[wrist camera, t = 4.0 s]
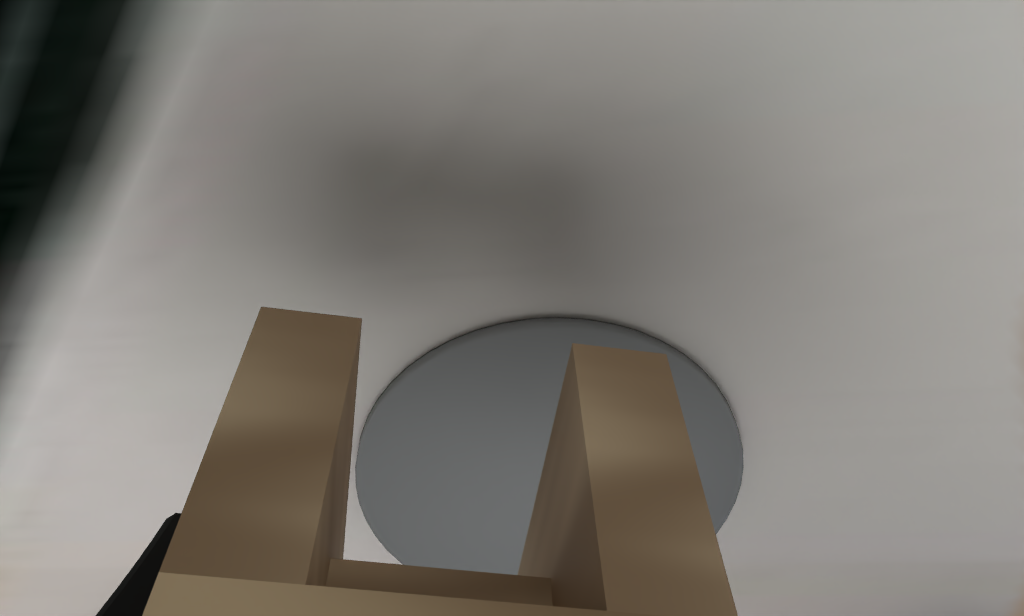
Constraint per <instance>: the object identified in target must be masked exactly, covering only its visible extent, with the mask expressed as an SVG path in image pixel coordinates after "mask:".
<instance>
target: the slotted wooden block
mask: <svg viewBox="0 0 1024 616" xmlns="http://www.w3.org/2000/svg"><path fill="white" fill-rule="evenodd" d="M361 323H362V319H361V318H353V317H344V316H336V315H327V314H319V313H310V312H301V311H293V310H284V309H276V308H267V307H261V309H260V311H259V314H258V316H257V319H256V322H255V324H254V327H253V329H252V332H251V335H250V337H249V340H248V342H247V345H246V348H245V350H244V353H243V355H242V358H241V361H240V363H239V366H238V368H237V371H236V374H235V376H234V379H233V381H232V384H231V386H230V389H229V392H228V394H227V397H226V399H225V402H224V405H223V407H222V410H221V412H220V415H219V418H218V420H217V423H216V425H215V428H214V431H213V433H212V436H211V438H210V441H209V444H208V446H207V449H206V451H205V454H204V457H203V459H202V462H201V464H200V467H199V470H198V472H197V475H196V477H195V480H194V482H193V485H192V488H191V490H190V493H189V495H188V498H187V501H186V503H185V506H184V508H183V511H182V514H181V516H180V519H179V521H178V524H177V527H176V529H175V532H174V534H173V537H172V540H171V542H170V545H169V547H168V550H167V553H166V555H165V558H164V560H163V563H162V565H161V568H160V571H159V573H158V576H157V578H156V581H155V584H154V586H153V589H152V591H151V594H150V597H149V599H148V602H147V604H146V607H145V610H144V612H143V615H142V616H738V615H737V611H736V608H735V604H734V600H733V597H732V593H731V589H730V586H729V582H728V578H727V575H726V571H725V567H724V564H723V560H722V556H721V553H720V549H719V545H718V542H717V538H716V534H715V531H714V527H713V523H712V520H711V516H710V512H709V509H708V505H707V501H706V498H705V494H704V490H703V487H702V483H701V479H700V476H699V472H698V468H697V465H696V461H695V457H694V454H693V450H692V446H691V443H690V439H689V435H688V432H687V428H686V424H685V421H684V417H683V413H682V410H681V406H680V402H679V399H678V395H677V391H676V388H675V384H674V380H673V377H672V373H671V369H670V366H669V362H668V358H667V355H666V354H662V353H653V352H644V351H636V350H627V349H619V348H610V347H602V346H593V345H584V344H576V343H572V347H571V351H570V355H569V360H568V364H567V368H566V372H565V376H564V381H563V385H562V389H561V393H560V398H559V402H558V406H557V410H556V414H555V419H554V423H553V427H552V431H551V436H550V440H549V444H548V448H547V452H546V457H545V461H544V465H543V469H542V474H541V478H540V482H539V486H538V490H537V495H536V499H535V503H534V507H533V512H532V516H531V520H530V524H529V528H528V533H527V537H526V541H525V545H524V550H523V554H522V558H521V562H520V566H519V571H518V575H511V574H499V573H488V572H477V571H466V570H455V569H444V568H432V567H421V566H410V565H399V564H388V563H377V562H365V561H354V560H343V552H344V539H345V526H346V514H347V501H348V488H349V475H350V463H351V450H352V437H353V425H354V412H355V399H356V387H357V374H358V361H359V348H360V336H361Z"/></svg>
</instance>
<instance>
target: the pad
mask: <svg viewBox="0 0 1024 616" xmlns="http://www.w3.org/2000/svg"><path fill="white" fill-rule="evenodd" d="M572 343H576V344H584V345H593V346H602V347H610V348H619V349H627V350H636V351H644V352H653V353H662V354H666V355H667V358H668V362H669V366H670V369H671V373H672V377H673V380H674V384H675V388H676V391H677V395H678V399H679V402H680V406H681V410H682V413H683V417H684V421H685V424H686V428H687V432H688V435H689V439H690V443H691V446H692V450H693V454H694V457H695V461H696V465H697V468H698V472H699V476H700V479H701V483H702V487H703V490H704V494H705V498H706V501H707V505H708V509H709V512H710V516H711V520H712V523H713V527H714V531H715V534H716V533H717V532H718V530H719V529H720V528H721V526H722V525H723V523H724V522H725V521H726V519H727V517H728V515H729V513H730V511H731V510H732V508H733V506H734V504H735V501H736V498H737V495H738V492H739V489H740V486H741V480H742V473H743V448H742V444H741V440H740V435H739V431H738V428H737V425H736V422H735V419H734V417H733V414H732V412H731V410H730V407H729V405H728V403H727V400H726V399H725V397H724V396H723V394H722V393H721V391H720V390H719V388H718V387H717V385H716V384H715V383H714V382H713V381H712V379H711V378H710V377H709V376H708V375H707V374H706V373H705V372H704V371H703V370H702V369H701V368H700V367H699V366H698V365H696V364H695V363H694V362H693V361H691V360H690V359H689V358H688V357H686V356H685V355H684V354H683V353H681V352H679V351H677V350H676V349H674V348H672V347H671V346H669V345H667V344H666V343H664V342H662V341H660V340H658V339H655V338H653V337H650V336H648V335H646V334H643V333H641V332H639V331H635V330H632V329H628V328H625V327H622V326H618V325H615V324H610V323H604V322H598V321H592V320H586V319H570V318H544V319H528V320H522V321H515V322H509V323H503V324H499V325H495V326H491V327H488V328H484V329H480V330H477V331H474V332H471V333H469V334H466V335H464V336H461V337H458V338H456V339H453V340H451V341H449V342H447V343H445V344H443V345H442V346H440V347H438V348H436V349H434V350H432V351H430V352H429V353H427V354H426V355H424V356H423V357H421V358H420V359H419V360H417V361H416V362H414V363H413V364H412V365H410V366H409V367H407V368H406V369H405V370H404V371H403V372H402V373H401V374H400V375H399V376H398V377H397V378H396V379H395V380H394V381H393V382H391V384H390V385H389V386H388V387H387V389H386V390H385V391H384V392H383V394H382V395H381V396H380V397H379V399H378V400H377V402H376V403H375V405H374V407H373V409H372V411H371V412H370V414H369V416H368V418H367V420H366V423H365V426H364V429H363V431H362V434H361V437H360V443H359V449H358V455H357V461H356V467H355V468H356V489H357V494H358V499H359V504H360V506H361V509H362V511H363V514H364V516H365V519H366V521H367V523H368V524H369V526H370V528H371V529H372V531H373V533H374V534H375V536H376V537H377V538H378V540H379V541H380V542H381V543H382V544H383V546H384V547H385V548H386V549H387V550H388V551H389V552H390V553H391V554H392V555H393V556H394V557H395V558H396V559H397V560H398V561H400V562H401V563H402V564H403V565H410V566H421V567H432V568H444V569H455V570H466V571H477V572H488V573H499V574H511V575H518V571H519V566H520V562H521V558H522V554H523V550H524V545H525V541H526V537H527V533H528V528H529V524H530V520H531V516H532V512H533V507H534V503H535V499H536V495H537V490H538V486H539V482H540V478H541V474H542V469H543V465H544V461H545V457H546V452H547V448H548V444H549V440H550V436H551V431H552V427H553V423H554V419H555V414H556V410H557V406H558V402H559V398H560V393H561V389H562V385H563V381H564V376H565V372H566V368H567V364H568V360H569V355H570V351H571V347H572Z"/></svg>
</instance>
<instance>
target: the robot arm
mask: <svg viewBox="0 0 1024 616" xmlns="http://www.w3.org/2000/svg"><path fill="white" fill-rule="evenodd" d="M180 516H181V513H175V514H174V515H172V516H170V517H169V518H167V519H166V520H165V522H164V523H163V525H162V526H161V528H160V529H159V531H158V532H157V534H156V535H155V537H154V538H153V540H152V541H151V542H150V544H149V545H148V547H147V548H146V549H145V551H144V552H143V554H142V555H141V557H140V558H139V559H138V561H137V562H136V563H135V565H134V566H133V568H132V569H131V570H130V572H129V573H128V574H127V576H126V577H125V578H124V580H123V581H122V582H121V584H120V585H119V586H118V588H117V589H116V590H115V592H114V593H113V594H112V595H111V597H110V598H109V599H108V601H107V602H106V603H105V604H104V606H103V607H102V608H101V610H100V611H99V612H98V613H97V615H96V616H142V615H143V612H144V610H145V607H146V604H147V602H148V599H149V597H150V594H151V591H152V589H153V586H154V584H155V581H156V578H157V576H158V573H159V571H160V568H161V565H162V563H163V560H164V558H165V555H166V553H167V550H168V547H169V545H170V542H171V540H172V537H173V534H174V532H175V529H176V527H177V524H178V521H179V519H180Z"/></svg>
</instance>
